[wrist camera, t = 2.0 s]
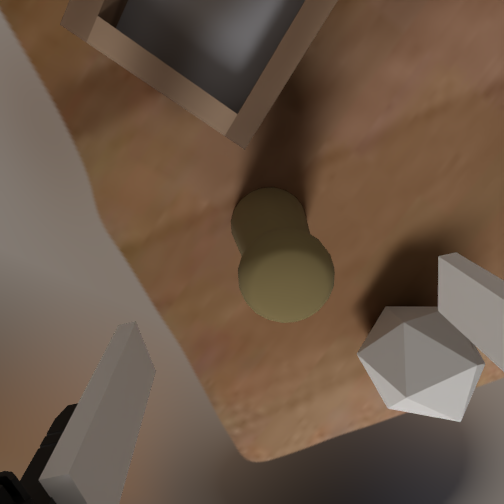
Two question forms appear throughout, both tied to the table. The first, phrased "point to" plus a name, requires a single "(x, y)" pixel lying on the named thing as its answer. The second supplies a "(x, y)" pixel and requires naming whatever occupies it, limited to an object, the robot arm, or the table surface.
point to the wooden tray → (205, 50)
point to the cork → (280, 257)
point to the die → (421, 362)
